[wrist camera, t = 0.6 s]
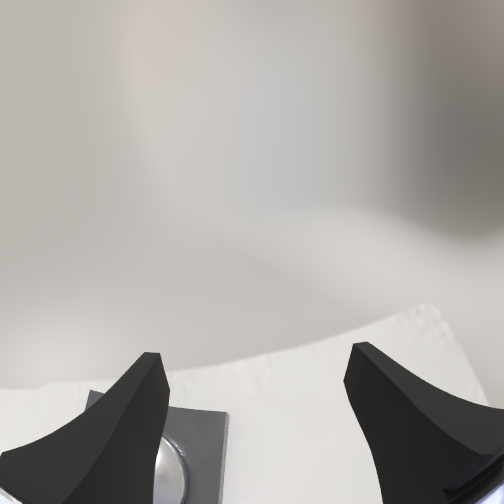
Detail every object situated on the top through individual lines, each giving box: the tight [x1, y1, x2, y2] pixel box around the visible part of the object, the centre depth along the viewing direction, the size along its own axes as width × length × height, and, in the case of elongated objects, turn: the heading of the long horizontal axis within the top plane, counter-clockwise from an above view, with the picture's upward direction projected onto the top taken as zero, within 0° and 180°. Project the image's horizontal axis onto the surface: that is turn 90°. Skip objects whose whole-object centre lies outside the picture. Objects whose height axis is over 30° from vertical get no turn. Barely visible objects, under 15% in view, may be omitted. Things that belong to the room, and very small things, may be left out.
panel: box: [85, 390, 229, 504], centre depth 19 cm, size 18×18×2 cm
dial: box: [153, 436, 188, 504], centre depth 16 cm, size 12×12×5 cm
